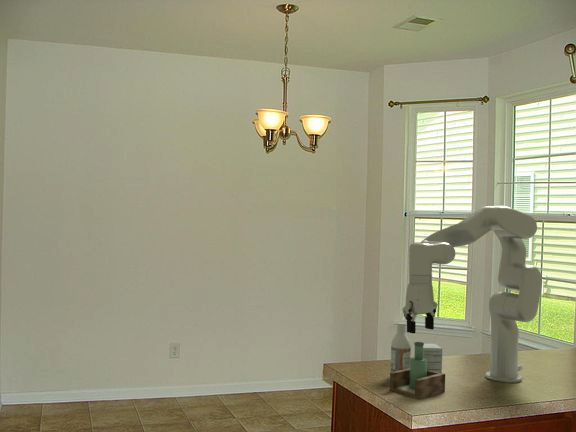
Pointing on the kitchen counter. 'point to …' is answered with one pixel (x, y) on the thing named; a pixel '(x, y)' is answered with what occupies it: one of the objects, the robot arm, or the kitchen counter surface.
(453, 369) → the kitchen counter surface
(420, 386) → the walnut U-rest
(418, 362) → the green bottle
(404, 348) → the bath foam
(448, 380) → the kitchen counter surface
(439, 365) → the supplement box
